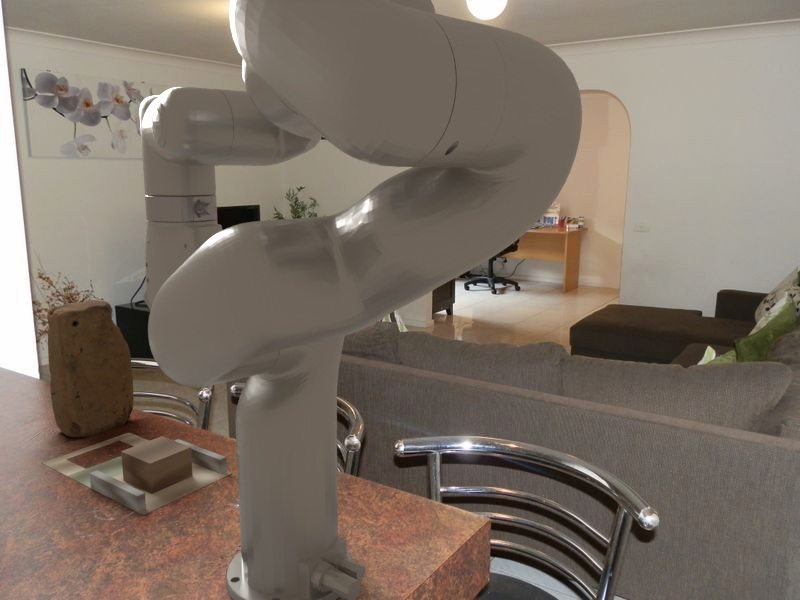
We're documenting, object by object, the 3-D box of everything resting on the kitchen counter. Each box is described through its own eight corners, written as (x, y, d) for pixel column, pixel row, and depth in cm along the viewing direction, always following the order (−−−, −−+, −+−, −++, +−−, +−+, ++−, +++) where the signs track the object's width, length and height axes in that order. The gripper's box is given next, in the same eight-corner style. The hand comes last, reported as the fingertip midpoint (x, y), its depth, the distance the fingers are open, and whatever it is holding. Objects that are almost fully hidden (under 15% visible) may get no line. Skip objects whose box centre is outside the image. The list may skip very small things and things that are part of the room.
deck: (232, 480, 87) (231, 459, 87) (144, 522, 77) (142, 498, 76) (129, 438, 100) (128, 419, 100) (42, 469, 90) (40, 449, 89)
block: (71, 444, 98) (59, 312, 94) (50, 431, 103) (37, 304, 99) (141, 424, 106) (132, 301, 102) (119, 412, 111) (109, 294, 107)
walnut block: (192, 476, 86) (190, 447, 85) (151, 494, 81) (149, 463, 81) (164, 464, 90) (162, 436, 89) (123, 480, 85) (121, 451, 84)
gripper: (260, 213, 72) (266, 373, 76) (163, 207, 82) (172, 348, 86) (204, 217, 66) (213, 390, 70) (107, 210, 76) (119, 362, 80)
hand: (190, 366), depth 78 cm, fingers open, 5 cm apart
